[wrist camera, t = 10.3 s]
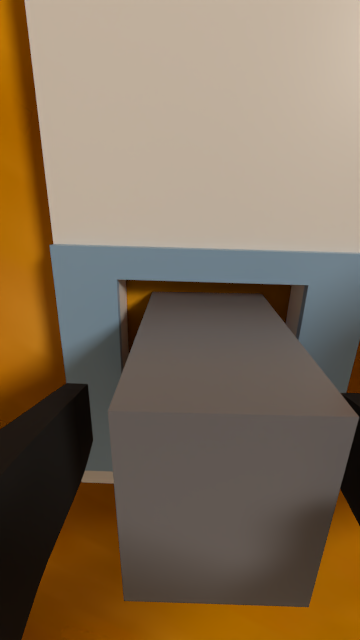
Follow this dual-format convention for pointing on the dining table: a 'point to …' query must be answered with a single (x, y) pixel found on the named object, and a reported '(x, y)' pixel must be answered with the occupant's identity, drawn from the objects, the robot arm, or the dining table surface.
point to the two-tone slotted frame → (198, 167)
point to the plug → (224, 454)
